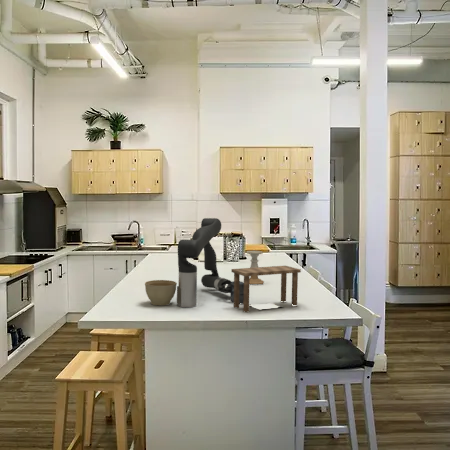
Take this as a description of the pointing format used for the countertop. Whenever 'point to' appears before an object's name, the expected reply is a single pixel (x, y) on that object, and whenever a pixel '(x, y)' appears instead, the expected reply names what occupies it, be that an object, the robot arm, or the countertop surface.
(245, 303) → the low shelf
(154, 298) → the planter bowl
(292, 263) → the countertop surface
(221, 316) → the countertop surface
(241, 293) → the box
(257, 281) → the candle holder
